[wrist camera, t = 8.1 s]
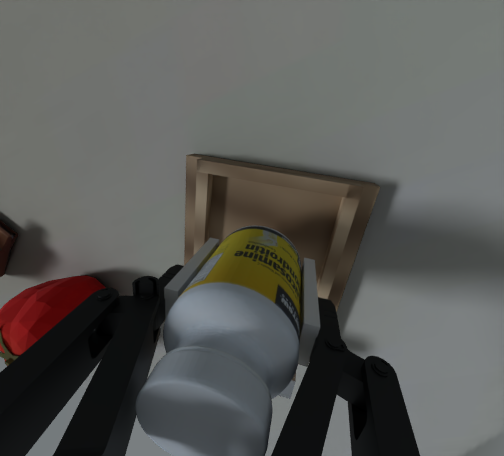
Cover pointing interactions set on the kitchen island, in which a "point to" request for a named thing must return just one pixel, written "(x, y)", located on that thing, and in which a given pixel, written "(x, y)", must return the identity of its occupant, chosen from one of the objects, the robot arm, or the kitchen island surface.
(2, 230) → the electronic device
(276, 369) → the pill bottle
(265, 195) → the board
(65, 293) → the tomato
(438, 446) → the kitchen island surface
